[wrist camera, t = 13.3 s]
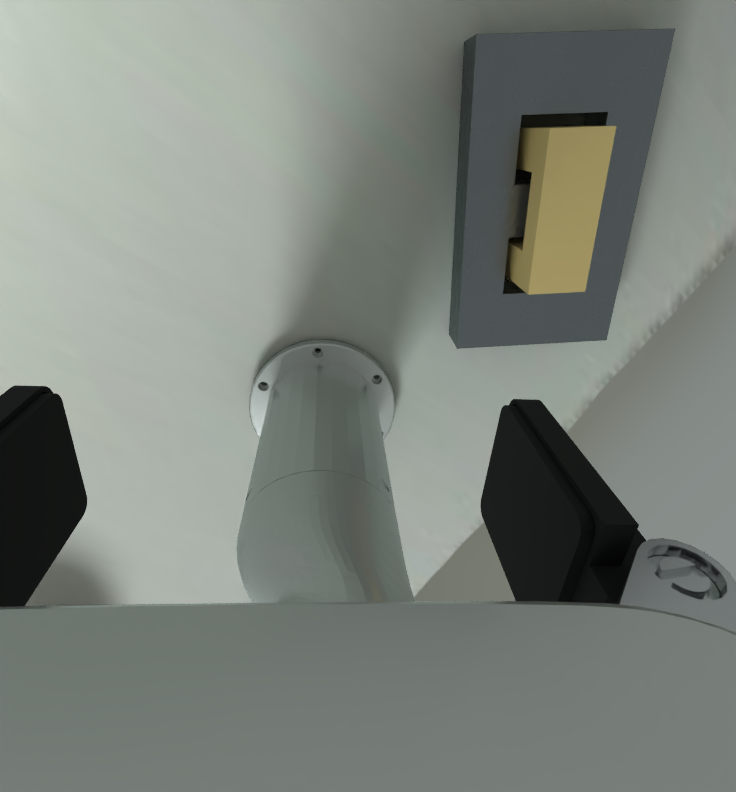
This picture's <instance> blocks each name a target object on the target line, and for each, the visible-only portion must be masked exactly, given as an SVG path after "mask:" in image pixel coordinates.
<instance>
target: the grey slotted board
mask: <svg viewBox="0 0 736 792" xmlns="http://www.w3.org/2000/svg"><path fill="white" fill-rule="evenodd" d="M674 32H675V29H643V30H608V31H573V32H539V33H504V34H476V35H475V36H473V37H471V38H470V39H468V40H467V41H465V42H464V57H463V77H462V96H461V115H460V134H459V153H458V173H457V192H456V211H455V230H454V249H453V269H452V288H451V307H450V326H449V335H450V337H451V339H452V340H453V342H454V344H455V346H456V347H457V349H458V348H475V347H493V346H510V345H528V344H545V343H563V342H580V341H598V340H607V335H608V331H609V326H610V322H611V317H612V313H613V308H614V304H615V299H616V294H617V290H618V285H619V281H620V276H621V272H622V267H623V263H624V258H625V254H626V249H627V245H628V240H629V236H630V231H631V226H632V222H633V217H634V213H635V208H636V204H637V199H638V195H639V190H640V186H641V181H642V177H643V172H644V168H645V163H646V158H647V154H648V149H649V145H650V140H651V136H652V131H653V127H654V122H655V118H656V113H657V109H658V104H659V100H660V95H661V91H662V86H663V81H664V77H665V72H666V68H667V63H668V59H669V54H670V50H671V45H672V41H673V36H674ZM570 113H587V114H586V120H585V126H616V131H615V136H614V142H613V147H612V152H611V157H610V163H609V168H608V173H607V179H606V184H605V189H604V195H603V200H602V205H601V210H600V216H599V221H598V226H597V232H596V237H595V242H594V247H593V253H592V258H591V263H590V269H589V274H588V279H587V285H586V290H585V292H570V293H551V294H532V295H528V294H527V293H526V292H524V291H523V290H522V289H521V288H520V287H518V286H517V285H516V284H515V283H514V282H504V279H505V269H506V259H507V250H508V240H509V238H510V237H524V234H525V226H526V218H527V209H528V201H529V193H530V184H531V180H515V173H516V164H517V154H518V145H519V135H520V126H521V116H522V115H542V114H570Z"/></svg>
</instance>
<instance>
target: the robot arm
mask: <svg viewBox="0 0 736 792" xmlns="http://www.w3.org/2000/svg"><path fill="white" fill-rule="evenodd" d="M315 348H320V349H321V350H320V351H316V350H315ZM375 375H379V376H378V377H374V376H375ZM262 382H266V384H263V383H262ZM249 411H250V417H251V422H252V424H253V427H254V429H255V431H256V433H257V435H258V436H259V438H260V440H259V444H258V449H257V453H256V458H255V462H254V466H253V471H252V475H251V480H250V484H249V489H248V493H247V497H246V502H245V506H244V511H243V516H242V520H241V524H240V529H239V534H238V540H237V561H238V567H239V571H240V575H241V579H242V582H243V584H244V587H245V589H246V591H247V593H248V595H249V597H250V599H251V601H252V602H253V603H213V604H137V605H78V606H25V604H26V603H27V601H28V600H29V598H30V597H31V595H32V594H33V592H34V591H35V589H36V588H37V586H38V584H39V583H40V581H41V580H42V578H43V577H44V575H45V574H46V572H47V571H48V569H49V567H50V566H51V564H52V563H53V561H54V560H55V558H56V557H57V555H58V554H59V552H60V550H61V549H62V547H63V546H64V544H65V543H66V541H67V540H68V538H69V537H70V535H71V534H72V532H73V530H74V529H75V527H76V526H77V524H78V523H79V521H80V520H81V518H82V517H83V515H84V513H85V510H86V506H87V495H86V492H85V488H84V484H83V480H82V476H81V472H80V468H79V464H78V460H77V456H76V453H75V449H74V445H73V441H72V437H71V433H70V429H69V425H68V421H67V417H66V414H65V410H64V406H63V402H62V399H61V397H60V396H59V395H58V394H53V392H52V391H51V389H50V388H48V387H46V386H13V387H11V388H10V389H9V390H7V391H6V392H5V393H4V394H2V395H1V396H0V792H736V582H735V580H734V579H733V577H732V576H731V574H730V573H729V572H728V571H727V570H726V569H725V568H724V567H723V566H722V565H721V564H720V563H719V562H718V561H716V560H715V559H714V558H712V557H711V556H709V555H708V554H706V553H705V552H703V551H701V550H699V549H697V548H695V547H693V546H691V545H688V544H685V543H682V542H679V541H676V540H670V539H664V538H660V539H650V540H648V541H646V540H645V538H644V537H643V536H642V535H641V533H640V532H639V531H638V530H637V528H638V526H639V525H638V523H637V522H636V521H635V520H634V518H633V517H632V516H631V514H630V513H629V512H628V511H627V509H626V508H625V507H624V506H623V504H622V503H621V502H620V500H619V499H618V498H617V497H616V495H615V494H614V493H613V492H612V491H611V489H610V488H609V487H608V485H607V484H606V483H605V482H604V480H603V479H602V478H601V476H599V474H598V473H597V471H596V470H595V469H594V468H593V466H592V465H591V464H590V463H589V461H588V460H587V459H586V458H585V456H584V455H583V454H582V452H581V451H580V450H579V449H578V447H577V446H576V445H575V444H574V442H573V441H572V440H571V439H570V437H569V436H568V435H567V433H566V432H565V431H564V430H563V428H562V427H561V426H560V425H559V423H558V422H557V421H556V420H555V418H554V417H553V416H552V414H551V413H550V412H549V411H548V409H547V408H546V407H545V406H544V404H543V403H542V402H541V401H540V400H522V399H513V400H512V401H511V403H510V404H509V405H505V406H503V408H502V410H501V413H500V418H499V422H498V427H497V431H496V436H495V440H494V445H493V449H492V453H491V458H490V462H489V467H488V471H487V476H486V480H485V485H484V489H483V494H482V498H481V513H482V517H483V519H484V522H485V524H486V527H487V529H488V532H489V534H490V537H491V539H492V542H493V544H494V547H495V549H496V552H497V555H498V557H499V560H500V562H501V565H502V567H503V570H504V572H505V575H506V577H507V580H508V582H509V585H510V587H511V590H512V592H513V595H514V597H515V600H516V601H457V602H456V601H454V602H415V600H414V597H413V593H412V590H411V587H410V583H409V579H408V575H407V570H406V566H405V561H404V556H403V551H402V546H401V540H400V535H399V529H398V523H397V518H396V513H395V507H394V501H393V495H392V489H391V484H390V478H389V472H388V466H387V460H386V454H385V448H384V442H383V440H384V439H385V437H386V436H387V434H388V432H389V430H390V428H391V425H392V422H393V419H394V413H395V400H394V393H393V389H392V386H391V383H390V381H389V379H388V376H387V374H386V373H385V371H384V370H383V369H382V367H381V366H380V365H379V363H378V362H377V361H376V360H374V359H373V358H372V357H371V356H370V355H369V354H367V353H366V352H364V351H362V350H360V349H359V348H357V347H355V346H352V345H349V344H346V343H344V342H339V341H333V340H310V341H305V342H300V343H297V344H295V345H292V346H289V347H287V348H285V349H283V350H282V351H280V352H279V353H277V354H275V355H274V356H273V357H272V358H271V359H270V360H269V361H268V362H266V363H265V364H264V366H263V367H262V369H261V370H260V372H259V373H258V375H257V377H256V379H255V382H254V384H253V386H252V390H251V394H250V403H249Z"/></svg>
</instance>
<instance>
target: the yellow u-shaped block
mask: <svg viewBox="0 0 736 792" xmlns="http://www.w3.org/2000/svg"><path fill="white" fill-rule="evenodd" d="M615 131H616V126H554V127H526V128H520V135H519V145H518V154H517V164H516V169H520V170H524V171H529V172H532V176H531V184H530V193H529V201H528V209H527V218H526V226H525V234H524V238H522V239H509V240H508V250H507V259H506V269H505V275H506V276H507V277H508V278H509V279H510V280H511V281H513V282H514V283H515V284H516V285H517V286H518V287H520V288H521V289H522V290H523V291H524V292H526V293H527V294H528V295H532V294H551V293H570V292H585V290H586V285H587V279H588V274H589V269H590V263H591V258H592V253H593V247H594V242H595V237H596V232H597V226H598V221H599V216H600V210H601V205H602V200H603V195H604V189H605V184H606V179H607V173H608V168H609V163H610V157H611V152H612V147H613V142H614V136H615Z"/></svg>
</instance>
